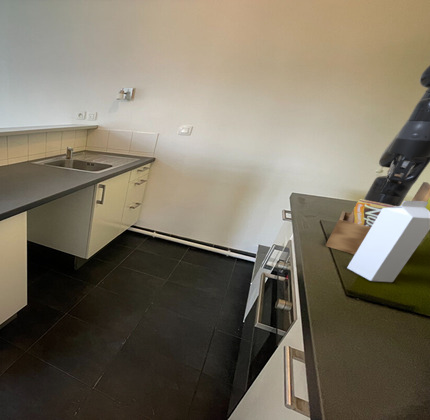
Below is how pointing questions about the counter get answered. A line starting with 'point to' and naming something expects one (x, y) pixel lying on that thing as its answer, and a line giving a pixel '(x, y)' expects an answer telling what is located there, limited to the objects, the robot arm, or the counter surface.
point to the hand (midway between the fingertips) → (385, 192)
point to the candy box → (366, 212)
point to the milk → (391, 241)
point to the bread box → (347, 235)
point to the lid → (423, 193)
